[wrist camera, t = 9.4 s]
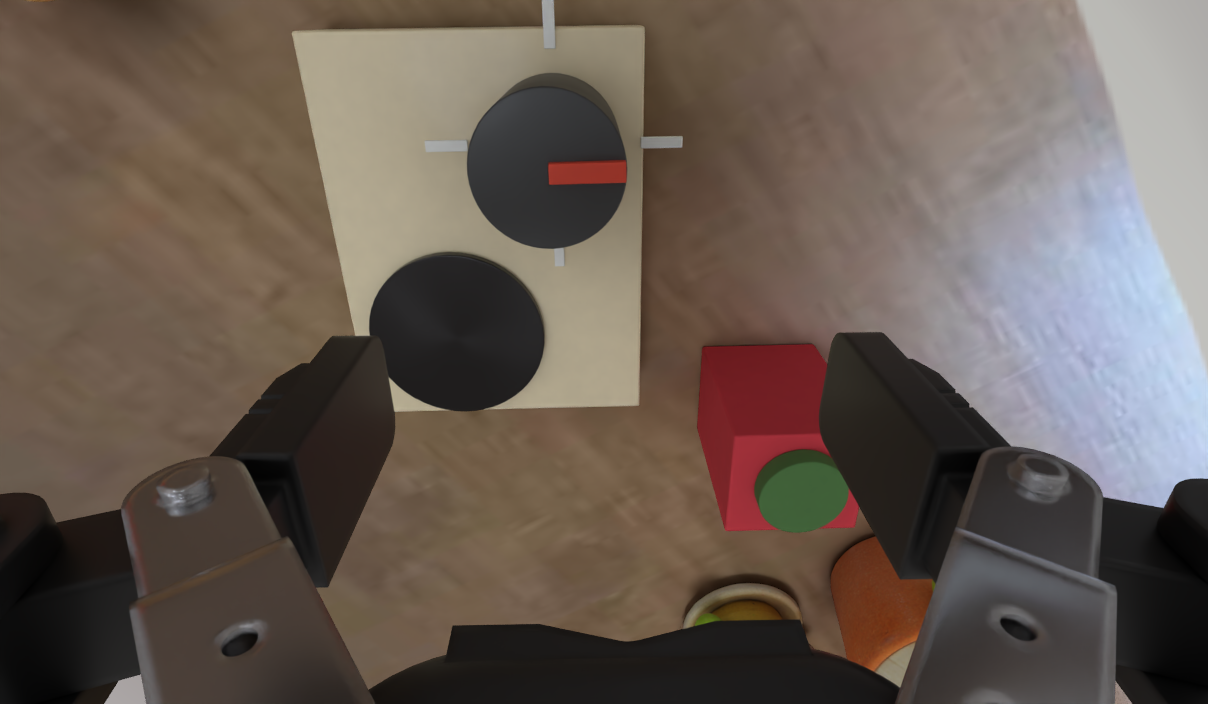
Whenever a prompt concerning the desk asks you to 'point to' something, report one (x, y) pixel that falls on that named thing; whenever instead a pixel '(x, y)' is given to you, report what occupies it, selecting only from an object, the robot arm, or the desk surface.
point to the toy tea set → (842, 608)
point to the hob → (443, 196)
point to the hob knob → (548, 162)
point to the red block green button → (769, 440)
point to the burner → (458, 331)
